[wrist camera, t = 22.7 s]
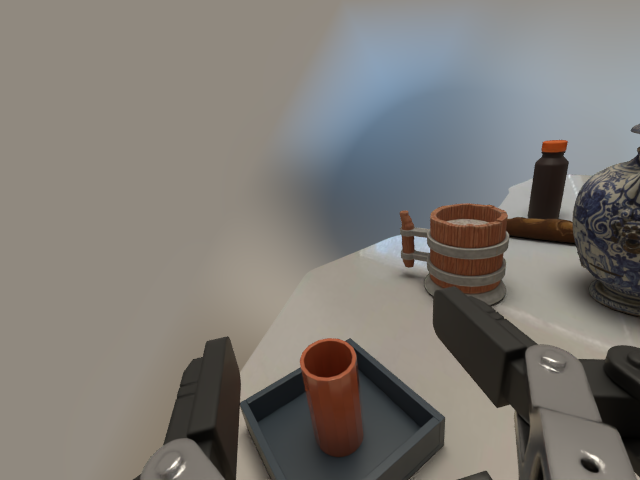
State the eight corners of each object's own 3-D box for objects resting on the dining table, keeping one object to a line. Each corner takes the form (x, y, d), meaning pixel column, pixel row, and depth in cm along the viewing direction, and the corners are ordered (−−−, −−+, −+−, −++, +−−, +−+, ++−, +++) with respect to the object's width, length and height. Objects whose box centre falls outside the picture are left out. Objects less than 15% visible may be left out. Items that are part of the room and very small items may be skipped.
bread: (659, 247, 63) (666, 224, 61) (663, 257, 59) (672, 233, 57) (461, 225, 85) (461, 208, 83) (455, 232, 82) (456, 214, 80)
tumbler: (333, 469, 31) (319, 391, 27) (305, 427, 36) (290, 355, 32) (374, 435, 34) (367, 360, 30) (344, 401, 38) (334, 331, 34)
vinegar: (532, 212, 87) (543, 139, 80) (562, 216, 82) (576, 139, 75) (523, 220, 83) (533, 144, 76) (553, 224, 78) (567, 143, 71)
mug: (498, 318, 50) (508, 232, 44) (387, 290, 61) (384, 219, 55) (511, 277, 59) (520, 203, 54) (414, 260, 71) (413, 197, 65)
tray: (314, 570, 25) (306, 542, 24) (247, 427, 38) (239, 402, 36) (444, 444, 33) (445, 417, 31) (352, 360, 45) (350, 337, 44)
